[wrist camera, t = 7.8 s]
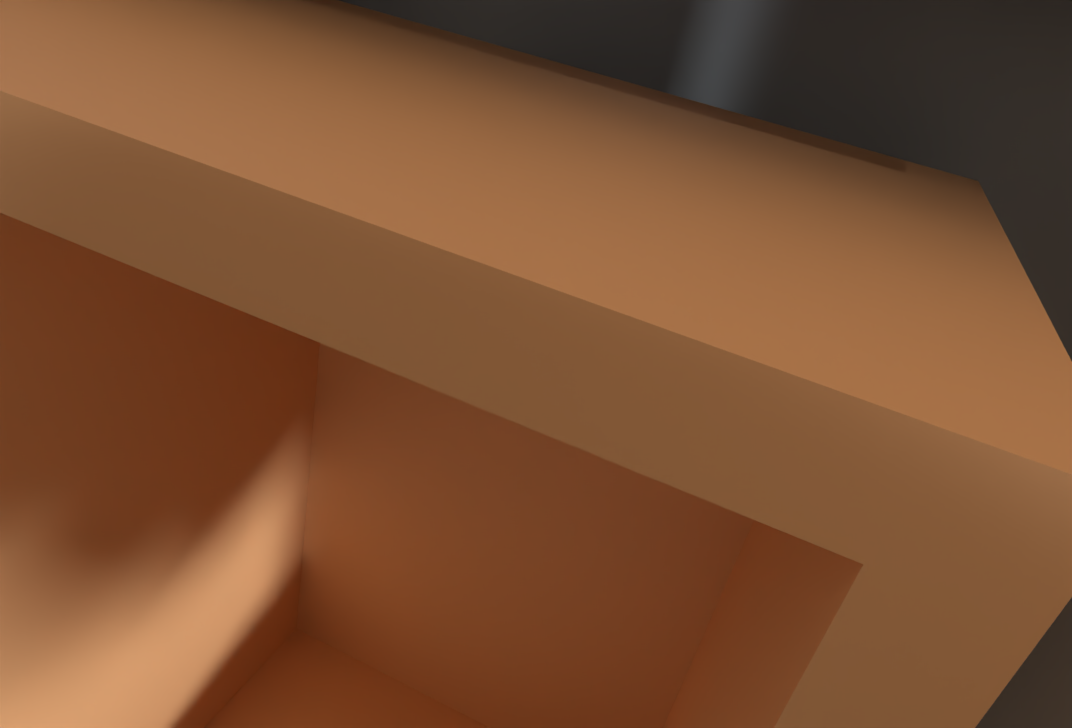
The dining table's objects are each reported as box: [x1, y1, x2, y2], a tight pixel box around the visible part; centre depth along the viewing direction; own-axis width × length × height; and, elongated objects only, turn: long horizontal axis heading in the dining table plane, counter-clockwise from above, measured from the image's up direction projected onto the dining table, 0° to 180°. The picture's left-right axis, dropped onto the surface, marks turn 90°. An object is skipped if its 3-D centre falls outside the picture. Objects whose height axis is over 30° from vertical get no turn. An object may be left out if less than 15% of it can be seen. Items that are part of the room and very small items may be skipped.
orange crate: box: [0, 0, 1072, 728], centre depth 7 cm, size 6×9×5 cm
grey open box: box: [339, 0, 1072, 728], centre depth 10 cm, size 14×14×6 cm
